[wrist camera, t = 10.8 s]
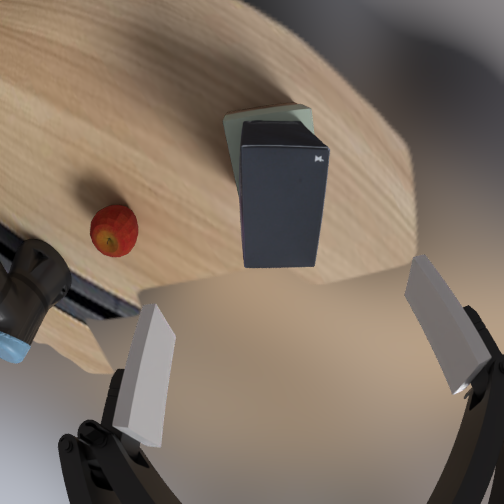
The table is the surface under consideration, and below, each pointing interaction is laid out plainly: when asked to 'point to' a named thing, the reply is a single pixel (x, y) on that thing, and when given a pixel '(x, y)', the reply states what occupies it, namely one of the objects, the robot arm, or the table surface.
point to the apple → (114, 230)
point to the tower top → (280, 113)
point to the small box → (281, 193)
